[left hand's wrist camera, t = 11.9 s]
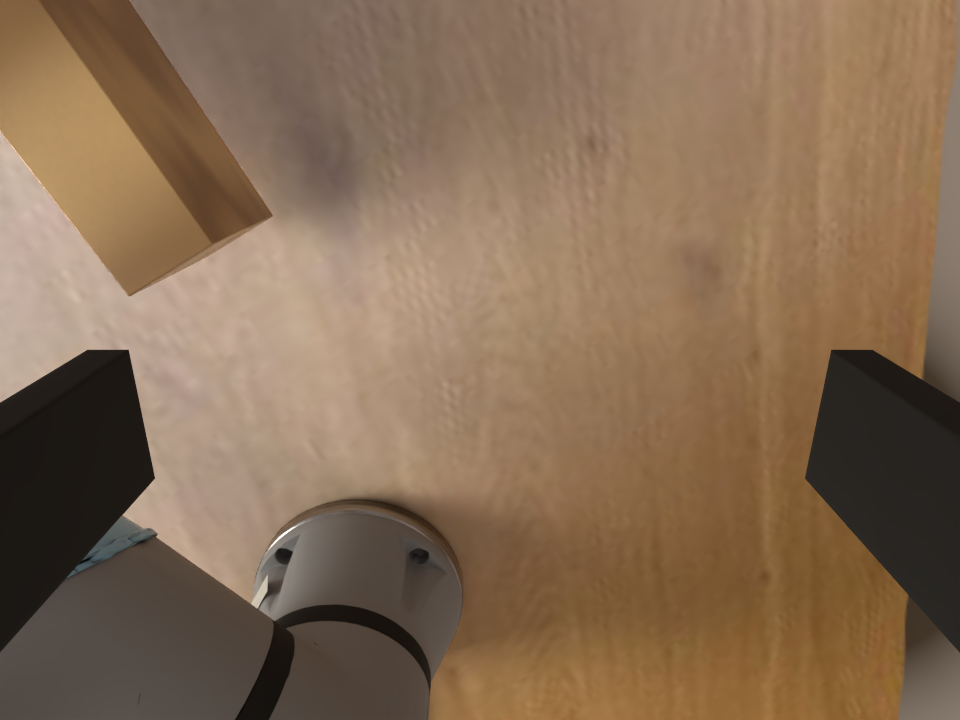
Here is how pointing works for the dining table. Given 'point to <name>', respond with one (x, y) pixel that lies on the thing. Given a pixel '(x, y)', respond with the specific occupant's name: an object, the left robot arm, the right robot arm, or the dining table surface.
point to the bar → (118, 138)
